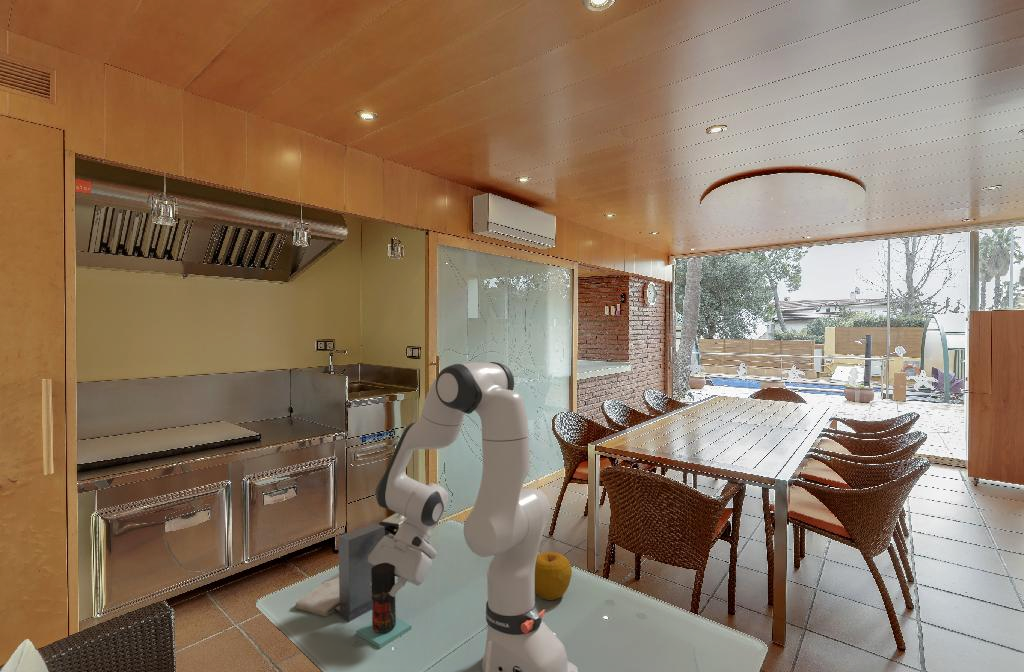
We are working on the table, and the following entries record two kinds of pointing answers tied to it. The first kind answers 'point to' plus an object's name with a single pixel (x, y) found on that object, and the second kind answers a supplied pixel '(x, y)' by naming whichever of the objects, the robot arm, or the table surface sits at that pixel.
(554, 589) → the apple
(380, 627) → the deodorant
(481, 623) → the table surface
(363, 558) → the block
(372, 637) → the plate
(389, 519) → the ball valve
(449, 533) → the table surface
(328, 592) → the washcloth
